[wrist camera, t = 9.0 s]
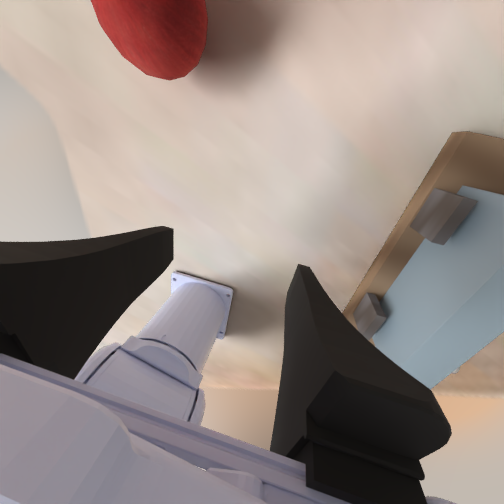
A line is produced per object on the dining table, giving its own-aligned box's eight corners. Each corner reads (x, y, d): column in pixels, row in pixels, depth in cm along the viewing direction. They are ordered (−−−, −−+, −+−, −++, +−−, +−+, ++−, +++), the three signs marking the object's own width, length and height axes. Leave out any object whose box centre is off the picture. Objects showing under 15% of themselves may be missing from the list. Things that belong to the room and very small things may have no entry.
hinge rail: (390, 340, 23) (408, 380, 19) (335, 324, 24) (342, 359, 20) (552, 153, 13) (656, 157, 9) (452, 132, 14) (511, 128, 10)
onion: (147, -29, 13) (-17, -215, 6) (230, -13, 13) (150, -194, 6) (151, 82, 16) (41, 37, 9) (218, 98, 16) (156, 63, 9)
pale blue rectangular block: (403, 332, 21) (437, 395, 15) (365, 321, 21) (387, 379, 16) (521, 198, 14) (657, 232, 8) (462, 185, 14) (559, 209, 9)
